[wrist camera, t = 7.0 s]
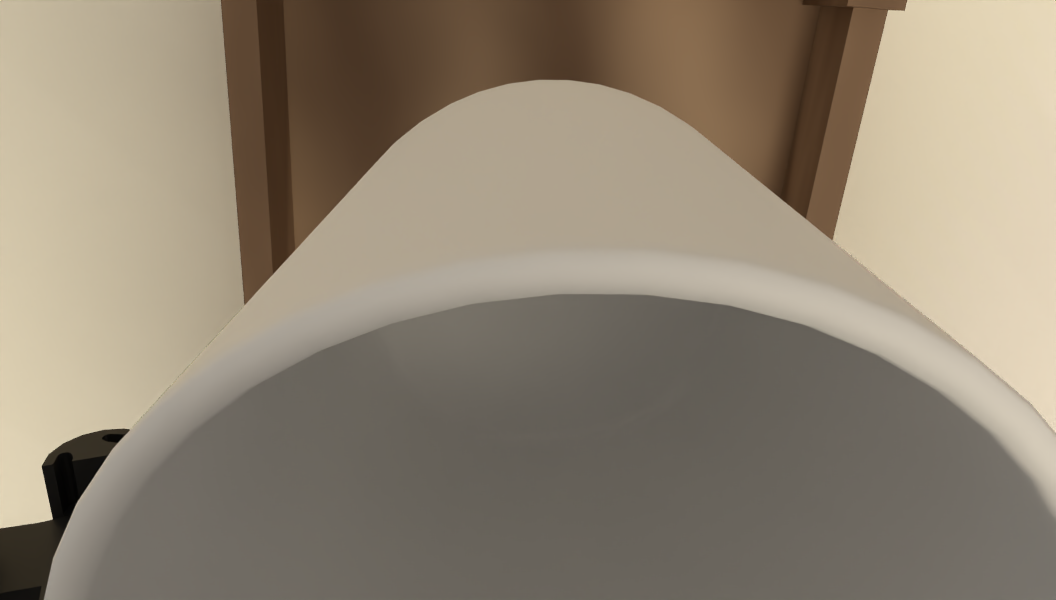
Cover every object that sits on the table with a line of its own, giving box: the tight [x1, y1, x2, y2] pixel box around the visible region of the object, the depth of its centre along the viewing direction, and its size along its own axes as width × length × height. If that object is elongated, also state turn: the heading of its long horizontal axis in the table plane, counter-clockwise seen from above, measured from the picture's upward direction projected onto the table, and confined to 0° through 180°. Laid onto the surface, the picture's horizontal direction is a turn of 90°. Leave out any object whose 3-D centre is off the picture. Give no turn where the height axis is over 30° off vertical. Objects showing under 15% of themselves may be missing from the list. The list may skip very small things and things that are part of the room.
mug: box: [44, 80, 1056, 600], centre depth 11 cm, size 9×12×11 cm
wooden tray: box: [221, 0, 907, 304], centre depth 25 cm, size 19×19×4 cm
